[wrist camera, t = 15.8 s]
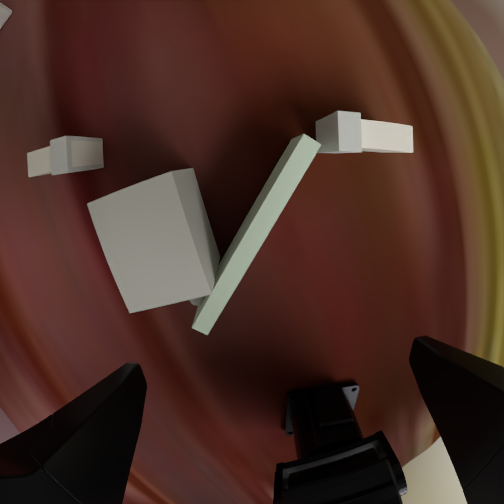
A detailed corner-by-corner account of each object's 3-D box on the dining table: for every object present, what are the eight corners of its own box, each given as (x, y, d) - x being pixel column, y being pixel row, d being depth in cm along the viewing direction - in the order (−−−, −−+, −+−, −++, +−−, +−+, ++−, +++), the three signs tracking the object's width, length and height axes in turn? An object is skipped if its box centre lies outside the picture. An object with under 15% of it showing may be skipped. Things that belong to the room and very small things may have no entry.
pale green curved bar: (278, 131, 16) (288, 123, 13) (305, 147, 17) (321, 144, 13) (188, 293, 19) (177, 321, 16) (213, 305, 20) (207, 335, 16)
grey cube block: (220, 256, 19) (211, 294, 14) (157, 273, 19) (129, 313, 14) (193, 167, 17) (171, 171, 12) (128, 190, 18) (86, 203, 12)
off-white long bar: (381, 156, 17) (417, 157, 13) (62, 175, 17) (24, 182, 12) (381, 127, 16) (416, 121, 12) (61, 148, 16) (22, 149, 12)
